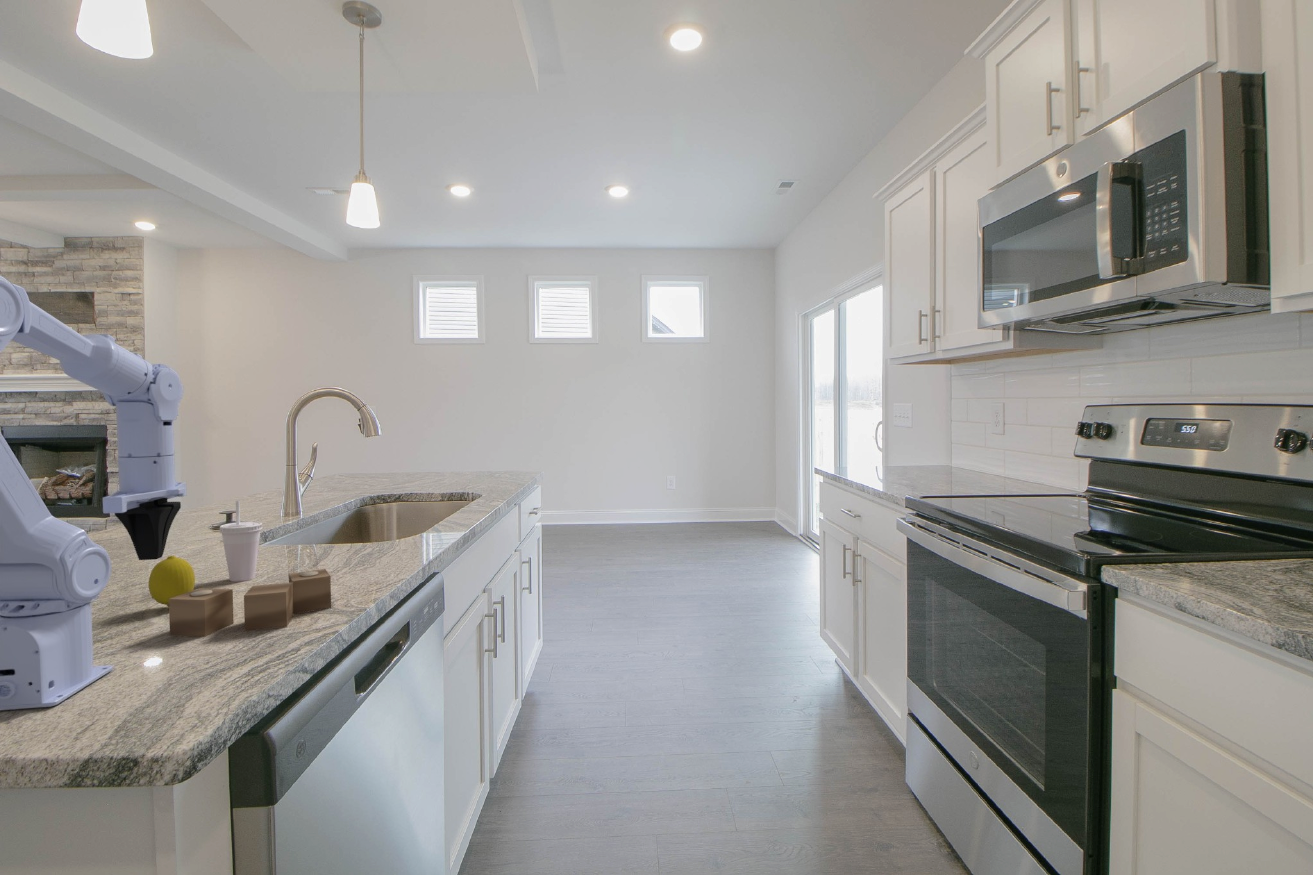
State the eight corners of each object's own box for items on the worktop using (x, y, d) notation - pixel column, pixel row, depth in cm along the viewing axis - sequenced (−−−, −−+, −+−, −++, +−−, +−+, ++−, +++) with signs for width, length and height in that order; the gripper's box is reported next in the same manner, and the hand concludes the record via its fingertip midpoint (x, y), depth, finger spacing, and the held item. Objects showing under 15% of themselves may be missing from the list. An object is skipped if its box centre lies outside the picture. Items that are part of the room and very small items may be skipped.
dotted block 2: (331, 608, 95) (330, 574, 95) (293, 614, 92) (292, 579, 92) (325, 600, 99) (325, 567, 99) (289, 605, 96) (288, 572, 96)
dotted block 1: (205, 637, 83) (204, 598, 83) (169, 636, 83) (168, 597, 83) (233, 624, 88) (232, 587, 88) (199, 623, 88) (198, 586, 88)
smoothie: (211, 581, 109) (209, 501, 108) (245, 572, 115) (243, 496, 114) (239, 585, 107) (237, 503, 106) (272, 575, 113) (270, 498, 112)
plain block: (287, 627, 87) (286, 591, 87) (244, 631, 85) (243, 595, 85) (293, 616, 91) (292, 582, 91) (253, 620, 90) (252, 585, 89)
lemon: (170, 615, 91) (168, 560, 91) (139, 612, 92) (137, 558, 92) (204, 603, 97) (203, 552, 96) (175, 601, 98) (173, 550, 97)
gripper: (148, 460, 75) (152, 571, 76) (209, 451, 89) (212, 545, 90) (80, 461, 74) (85, 574, 75) (152, 451, 88) (156, 547, 89)
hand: (150, 558), depth 82 cm, fingers closed
